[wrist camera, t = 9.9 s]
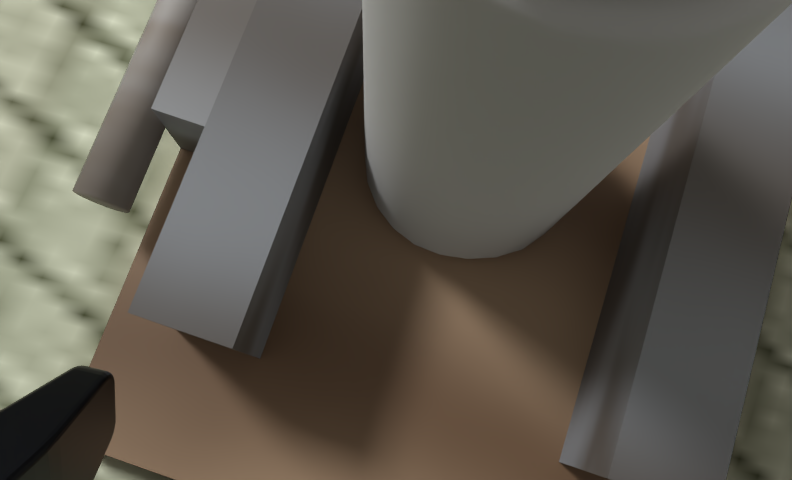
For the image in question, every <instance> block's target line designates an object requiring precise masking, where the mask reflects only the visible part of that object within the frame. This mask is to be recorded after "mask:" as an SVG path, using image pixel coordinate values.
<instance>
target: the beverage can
mask: <svg viewBox="0 0 792 480" xmlns="http://www.w3.org/2000/svg"><path fill="white" fill-rule="evenodd" d="M791 4H792V0H362V19H363V71H364V130H365V162H366V172H367V182H368V185H369V187H370V190H371V193H372V195H373V198H374V200H375V203H376V205H377V208H378V209H379V210H380V212H381V213H382V214H383V216H384V217H385V218H386V219H387V221H388V222H389V223H390V225H391V226H392V227H393V229H395V230H396V231H397V232H399V233H400V234H401V235H403V236H404V237H405V238H407V239H408V240H409V241H411V242H412V243H413V244H414V245H417V246H419V247H422V248H424V249H427V250H429V251H432V252H434V253H437V254H439V255H445V256H452V257H458V258H465V259H476V258H495V257H499V256H502V255H506V254H509V253H512V252H515V251H519V250H522V249H524V248H525V247H527V246H528V245H529V244H531V243H532V242H534V241H535V240H537V239H538V238H539V237H541V236H542V235H544V234H545V233H546V232H547V231H548V230H549V229H550V228H551V227H552V226H554V225H555V224H556V223H557V222H558V221H559V220H560V219H561V218H562V217H563V216H564V215H565V214H566V213H567V212H569V211H570V210H571V209H572V208H573V207H574V206H575V205H576V204H577V203H578V202H579V201H580V200H581V199H583V198H584V197H585V196H586V195H587V194H588V193H589V192H590V191H591V190H592V189H593V188H594V187H595V186H596V185H598V184H599V183H600V182H601V181H602V180H603V179H604V178H605V177H606V176H607V175H608V174H609V173H610V172H611V171H613V170H614V169H615V168H616V167H617V166H618V165H619V164H620V163H621V162H622V161H623V160H624V159H625V158H626V157H628V156H629V155H630V154H631V153H632V152H633V151H634V150H635V149H636V148H637V147H638V146H639V145H640V144H641V143H643V142H644V141H645V140H646V139H647V138H648V137H649V136H650V135H651V134H652V133H653V132H654V131H655V130H656V129H658V128H659V127H660V126H661V125H662V124H663V123H664V122H665V121H666V120H667V119H668V118H669V117H670V116H672V115H673V114H674V113H675V112H676V111H677V110H678V109H679V108H680V107H681V106H682V105H683V104H684V103H685V102H687V101H688V100H689V99H690V98H691V97H692V96H693V95H694V94H695V93H696V92H697V91H698V90H699V89H700V88H702V87H703V86H704V85H705V84H706V83H707V82H708V81H709V80H710V79H711V78H712V77H713V76H714V75H715V74H717V73H718V72H719V71H720V70H721V69H722V68H723V67H724V66H725V65H726V64H727V63H728V62H729V61H730V60H732V59H733V58H734V57H735V56H736V55H737V54H738V53H739V52H740V51H741V50H742V49H743V48H744V47H746V46H747V45H748V44H749V43H750V42H751V41H752V40H753V39H754V38H755V37H756V36H757V35H758V34H759V33H761V32H762V31H763V30H764V29H765V28H766V27H767V26H768V25H769V24H770V23H771V22H772V21H773V20H774V19H776V18H777V17H778V16H779V15H780V14H781V13H782V12H783V11H784V10H785V9H786V8H787V7H788V6H789V5H791Z"/></svg>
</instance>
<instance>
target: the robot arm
mask: <svg viewBox="0 0 792 480" xmlns="http://www.w3.org/2000/svg"><path fill="white" fill-rule="evenodd" d="M115 423H116V409H115V381H114V377H113V375H112V374H111V373H110V372H108V371H105V370H100V369H96V368H92V367H87V366H77V367H74V368H72V369H70V370H68V371H67V372H65V373H63V374H61V375H60V376H58V377H56V378H55V379H53V380H51V381H50V382H48V383H46V384H45V385H43V386H41V387H39V388H38V389H36V390H34V391H33V392H31V393H29V394H28V395H26V396H24V397H23V398H21V399H19V400H17V401H16V402H14V403H12V404H11V405H9V406H7V407H6V408H4V409H2V410H1V411H0V480H94V478H95V475H96V473H97V471H98V468H99V466H100V464H101V462H102V459H103V457H104V455H105V453H106V450H107V448H108V446H109V444H110V441H111V439H112V436H113V433H114V429H115Z"/></svg>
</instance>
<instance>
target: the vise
mask: <svg viewBox="0 0 792 480" xmlns="http://www.w3.org/2000/svg"><path fill="white" fill-rule="evenodd" d="M165 128H166V129H167V130H168V132H169V133H170V134H171V136H172V137H173V138H174V140H175V141H176V142H177V144H178V145H179V146H180V148H181V149H180V151H179V154H178V156H177V159H176V161H175V163H174V166H173V168H172V170H171V173H170V175H169V178H168V180H167V182H166V185H165V187H164V190H163V192H162V194H161V197H160V199H159V201H158V204H157V206H156V209H155V211H154V213H153V216H152V218H151V221H150V223H149V225H148V228H147V230H146V233H145V235H144V237H143V240H142V242H141V244H140V247H139V249H138V252H137V254H136V256H135V259H134V261H133V264H132V266H131V268H130V271H129V273H128V275H127V278H126V280H125V283H124V285H123V287H122V290H121V292H120V295H119V297H118V299H117V302H116V304H115V306H114V309H113V311H112V314H111V316H110V318H109V321H108V323H107V326H106V328H105V330H104V333H103V335H102V337H101V340H100V342H99V345H98V347H97V349H96V352H95V354H94V357H93V359H92V361H91V364H90V366H89V367H92V368H96V369H100V370H105V371H108V372H110V373H111V374H112V375H113V377H114V381H115V409H116V423H115V429H114V433H113V436H112V439H111V441H110V444H109V446H108V448H107V450H106V453H105V455H107V456H110V457H113V458H115V459H118V460H121V461H124V462H127V463H130V464H132V465H135V466H138V467H141V468H144V469H147V470H149V471H152V472H155V473H158V474H161V475H164V476H166V477H169V478H172V479H175V480H726V478H727V473H728V469H729V465H730V461H731V456H732V452H733V448H734V443H735V439H736V435H737V430H738V426H739V422H740V418H741V413H742V409H743V405H744V400H745V396H746V392H747V388H748V383H749V379H750V375H751V370H752V366H753V362H754V358H755V353H756V349H757V345H758V340H759V336H760V332H761V328H762V323H763V319H764V315H765V310H766V306H767V302H768V297H769V293H770V289H771V285H772V280H773V276H774V272H775V267H776V263H777V259H778V255H779V250H780V246H781V242H782V237H783V233H784V229H785V225H786V220H787V216H788V212H789V207H790V203H791V199H792V4H791V5H789V6H788V7H787V8H786V9H785V10H784V11H783V12H782V13H781V14H780V15H779V16H778V17H777V18H776V19H774V20H773V21H772V22H771V23H770V24H769V25H768V26H767V27H766V28H765V29H764V30H763V31H762V32H761V33H759V34H758V35H757V36H756V37H755V38H754V39H753V40H752V41H751V42H750V43H749V44H748V45H747V46H746V47H744V48H743V49H742V50H741V51H740V52H739V53H738V54H737V55H736V56H735V57H734V58H733V59H732V60H730V61H729V62H728V63H727V64H726V65H725V66H724V67H723V68H722V69H721V70H720V71H719V72H718V73H717V74H715V75H714V76H713V77H712V78H711V79H710V80H709V81H708V82H707V83H706V84H705V85H704V86H703V87H702V88H700V89H699V90H698V91H697V92H696V93H695V94H694V95H693V96H692V97H691V98H690V99H689V100H688V101H687V102H685V103H684V104H683V105H682V106H681V107H680V108H679V109H678V110H677V111H676V112H675V113H674V114H673V115H672V116H670V117H669V118H668V119H667V120H666V121H665V122H664V123H663V124H662V125H661V126H660V127H659V128H658V129H656V130H655V131H654V132H653V133H652V134H651V135H650V136H649V137H648V138H647V139H646V140H645V141H644V142H643V143H641V144H640V145H639V146H638V147H637V148H636V149H635V150H634V151H633V152H632V153H631V154H630V155H629V156H628V157H626V158H625V159H624V160H623V161H622V162H621V163H620V164H619V165H618V166H617V167H616V168H615V169H614V170H613V171H611V172H610V173H609V174H608V175H607V176H606V177H605V178H604V179H603V180H602V181H601V182H600V183H599V184H598V185H596V186H595V187H594V188H593V189H592V190H591V191H590V192H589V193H588V194H587V195H586V196H585V197H584V198H583V199H581V200H580V201H579V202H578V203H577V204H576V205H575V206H574V207H573V208H572V209H571V210H570V211H569V212H567V213H566V214H565V215H564V216H563V217H562V218H561V219H560V220H559V221H558V222H557V223H556V224H555V225H554V226H552V227H551V228H550V229H549V230H548V231H547V232H546V233H545V234H544V235H542V236H541V237H539V238H538V239H537V240H535V241H534V242H532V243H531V244H529V245H528V246H527V247H525V248H524V249H522V250H519V251H515V252H512V253H509V254H506V255H502V256H499V257H495V258H476V259H465V258H458V257H452V256H445V255H439V254H437V253H434V252H432V251H429V250H427V249H424V248H422V247H419V246H417V245H414V244H413V243H412V242H411V241H409V240H408V239H407V238H405V237H404V236H403V235H401V234H400V233H399V232H397V231H396V230H395V229H393V227H392V226H391V225H390V223H389V222H388V221H387V219H386V218H385V217H384V216H383V214H382V213H381V212H380V210H379V209H378V208H377V205H376V203H375V200H374V198H373V195H372V193H371V190H370V187H369V185H368V182H367V172H366V162H365V130H364V71H363V19H362V0H157V2H156V4H155V7H154V9H153V11H152V13H151V16H150V18H149V20H148V22H147V25H146V27H145V29H144V31H143V34H142V36H141V38H140V40H139V42H138V45H137V47H136V49H135V51H134V54H133V56H132V58H131V60H130V63H129V65H128V67H127V69H126V72H125V74H124V76H123V78H122V81H121V83H120V85H119V87H118V90H117V92H116V94H115V96H114V99H113V101H112V103H111V105H110V108H109V110H108V112H107V114H106V116H105V119H104V121H103V123H102V125H101V128H100V130H99V132H98V134H97V137H96V139H95V141H94V143H93V146H92V148H91V150H90V152H89V155H88V157H87V159H86V161H85V164H84V166H83V168H82V170H81V173H80V175H79V177H78V179H77V182H76V184H75V186H74V188H73V192H75V193H76V194H78V195H80V196H82V197H84V198H86V199H88V200H90V201H93V202H95V203H97V204H100V205H103V206H105V207H108V208H111V209H114V210H117V211H121V212H125V213H129V212H130V209H131V207H132V205H133V202H134V200H135V198H136V195H137V193H138V190H139V188H140V186H141V183H142V181H143V179H144V176H145V174H146V172H147V169H148V167H149V165H150V162H151V160H152V158H153V155H154V153H155V151H156V148H157V146H158V144H159V141H160V139H161V137H162V134H163V132H164V130H165Z"/></svg>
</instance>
